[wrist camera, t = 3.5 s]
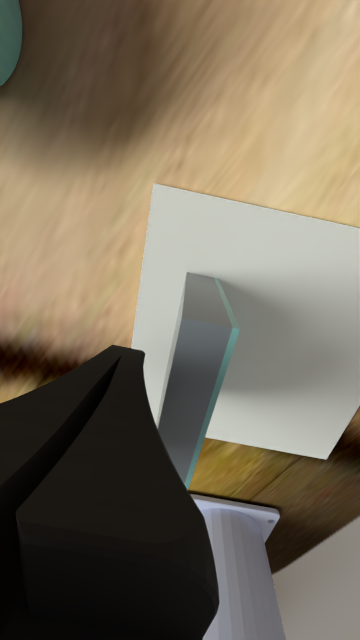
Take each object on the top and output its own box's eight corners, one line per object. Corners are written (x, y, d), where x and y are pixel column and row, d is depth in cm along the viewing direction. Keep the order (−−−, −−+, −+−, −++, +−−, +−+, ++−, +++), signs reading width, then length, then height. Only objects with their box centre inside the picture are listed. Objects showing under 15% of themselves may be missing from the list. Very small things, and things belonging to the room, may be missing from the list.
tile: (163, 385, 15) (145, 485, 9) (186, 271, 12) (181, 317, 7) (189, 390, 15) (186, 492, 9) (218, 278, 12) (239, 329, 7)
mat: (324, 455, 17) (326, 459, 17) (122, 418, 16) (121, 421, 16) (450, 248, 11) (456, 249, 11) (154, 184, 11) (153, 183, 11)
